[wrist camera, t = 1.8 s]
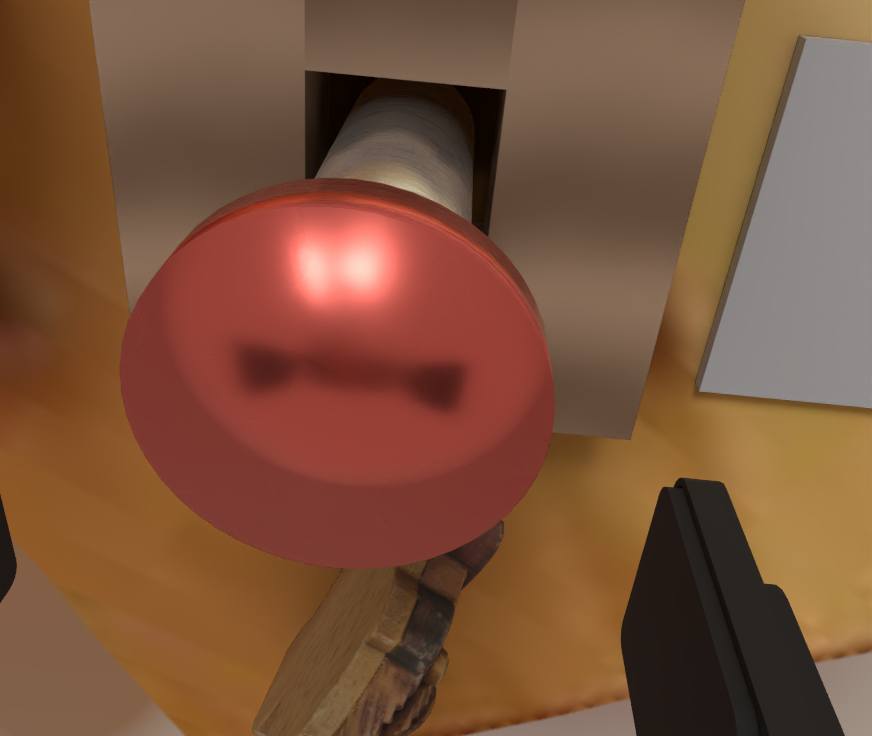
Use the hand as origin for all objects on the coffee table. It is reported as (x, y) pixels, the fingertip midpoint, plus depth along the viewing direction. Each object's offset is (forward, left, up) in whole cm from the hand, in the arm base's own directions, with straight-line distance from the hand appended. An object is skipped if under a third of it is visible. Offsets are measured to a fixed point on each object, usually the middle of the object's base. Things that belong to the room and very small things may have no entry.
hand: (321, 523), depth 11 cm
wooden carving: (+18, 0, -18) cm, 25 cm away
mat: (+2, +16, -17) cm, 23 cm away
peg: (0, 0, -17) cm, 17 cm away
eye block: (0, 0, -17) cm, 17 cm away
